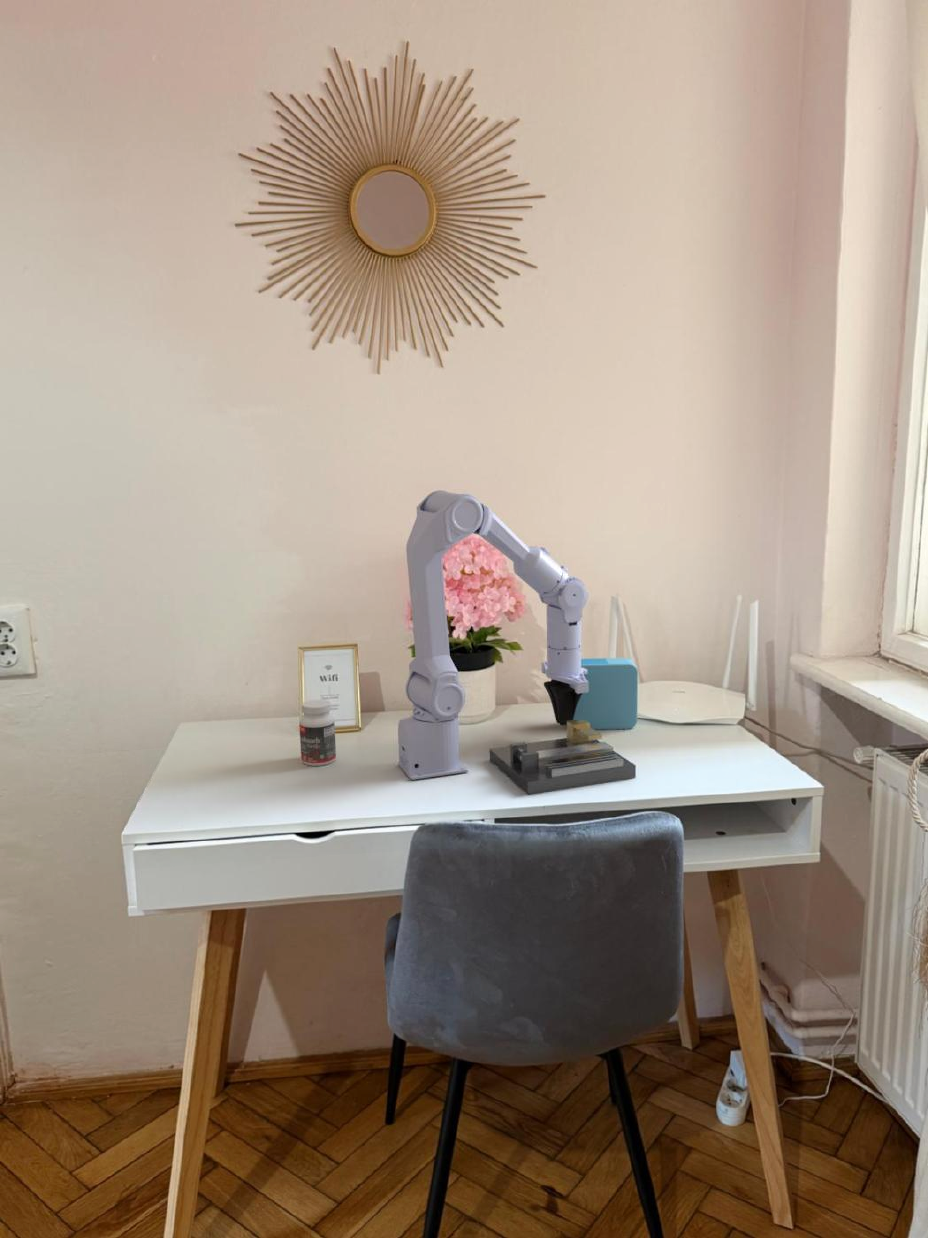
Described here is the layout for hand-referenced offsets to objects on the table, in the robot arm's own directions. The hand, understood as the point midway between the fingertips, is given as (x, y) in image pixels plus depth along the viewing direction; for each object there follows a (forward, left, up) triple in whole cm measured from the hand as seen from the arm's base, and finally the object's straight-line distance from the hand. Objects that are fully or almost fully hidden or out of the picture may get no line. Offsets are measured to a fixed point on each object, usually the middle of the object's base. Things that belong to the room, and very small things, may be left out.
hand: (564, 723), depth 171 cm
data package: (+10, +5, -4) cm, 12 cm away
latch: (0, -8, -1) cm, 8 cm away
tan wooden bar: (-6, -14, -1) cm, 15 cm away
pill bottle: (-41, +7, -4) cm, 42 cm away
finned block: (-6, -12, -3) cm, 13 cm away
